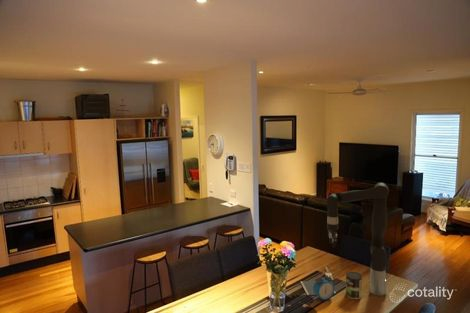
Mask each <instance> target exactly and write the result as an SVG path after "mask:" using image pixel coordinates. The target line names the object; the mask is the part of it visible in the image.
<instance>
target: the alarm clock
mask: <svg viewBox="0 0 470 313" xmlns="http://www.w3.org/2000/svg"><path fill="white" fill-rule="evenodd" d="M315 280H316V282H315V283H314V286H313V291H314V293H315V294H316V295H315V296H316V297H318V299H320V301H321V302H322V301H327V300H329V299H331V298H332V297H333V296H334V295H335V294H334V291H335V289H336V288H335V284H334V283H333V280H332V278H331V277H330V276H328V275H327V276H326V275H325V276H324V277H321V276H318V277H316V278H315ZM335 292H336V291H335Z"/></svg>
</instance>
